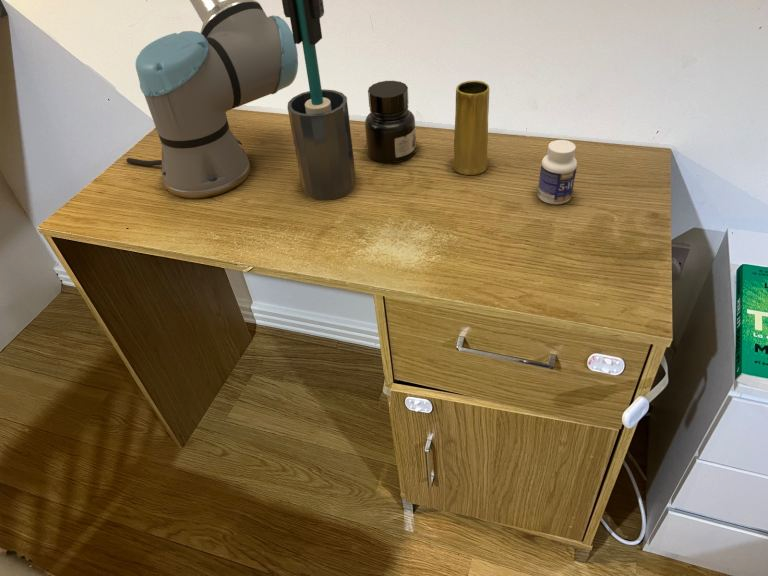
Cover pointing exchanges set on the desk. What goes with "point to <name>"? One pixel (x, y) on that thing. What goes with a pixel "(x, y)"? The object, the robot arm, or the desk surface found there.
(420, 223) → the desk surface
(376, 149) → the ink bottle
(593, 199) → the desk surface
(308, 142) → the grey pvc pipe
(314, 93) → the brush
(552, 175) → the pill bottle
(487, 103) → the vase
